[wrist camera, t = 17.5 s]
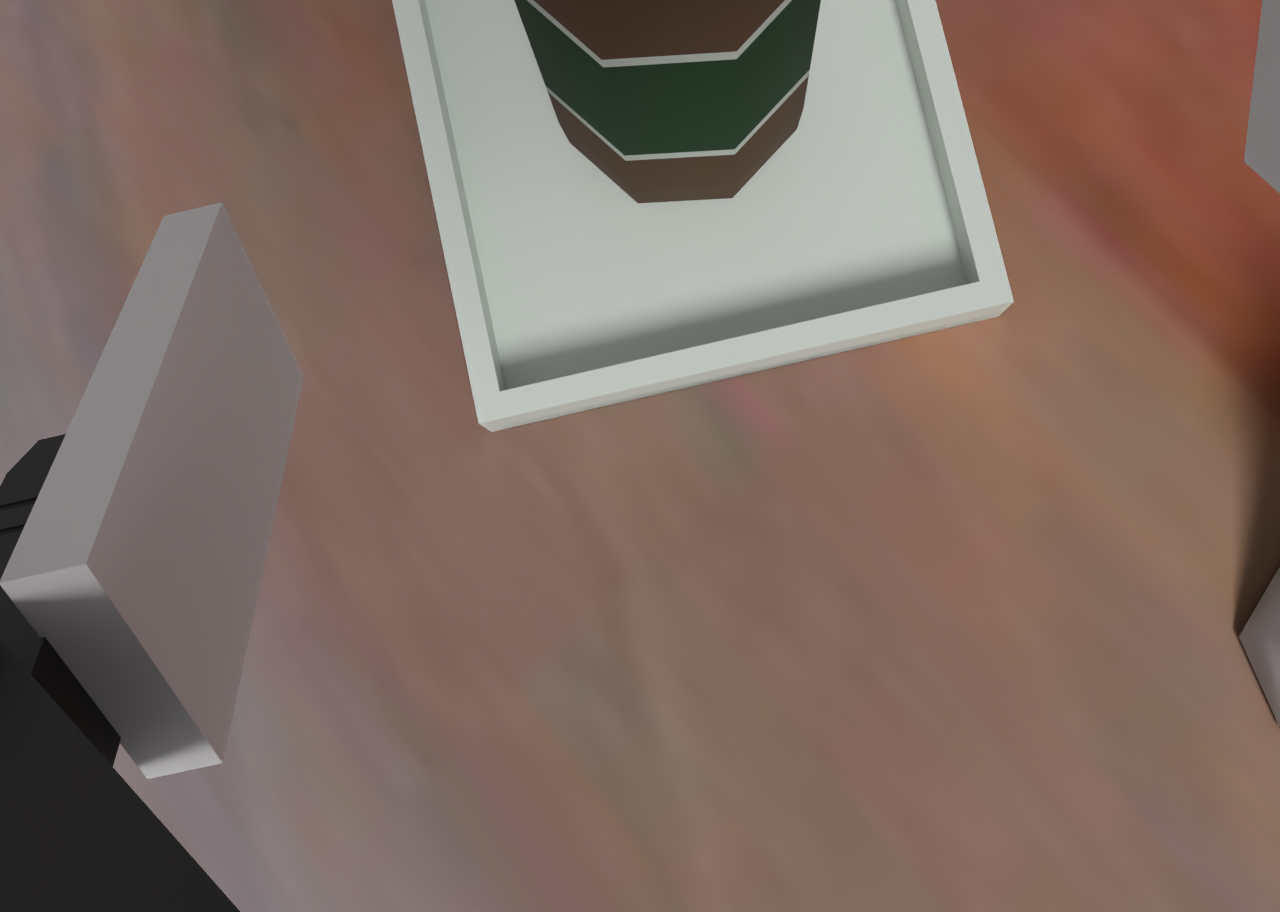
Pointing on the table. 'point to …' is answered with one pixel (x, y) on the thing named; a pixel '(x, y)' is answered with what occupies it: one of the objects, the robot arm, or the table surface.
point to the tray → (697, 219)
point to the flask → (1266, 643)
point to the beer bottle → (675, 86)
